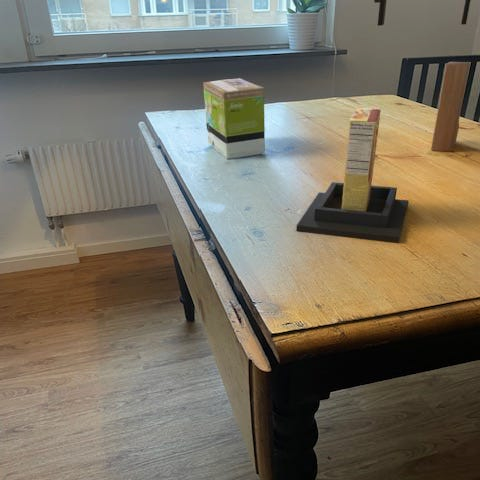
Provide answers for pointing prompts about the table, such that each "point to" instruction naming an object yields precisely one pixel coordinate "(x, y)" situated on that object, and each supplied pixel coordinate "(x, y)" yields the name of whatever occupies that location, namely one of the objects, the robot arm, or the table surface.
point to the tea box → (235, 117)
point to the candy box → (360, 159)
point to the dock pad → (356, 215)
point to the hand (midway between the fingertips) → (421, 24)
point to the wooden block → (450, 106)
